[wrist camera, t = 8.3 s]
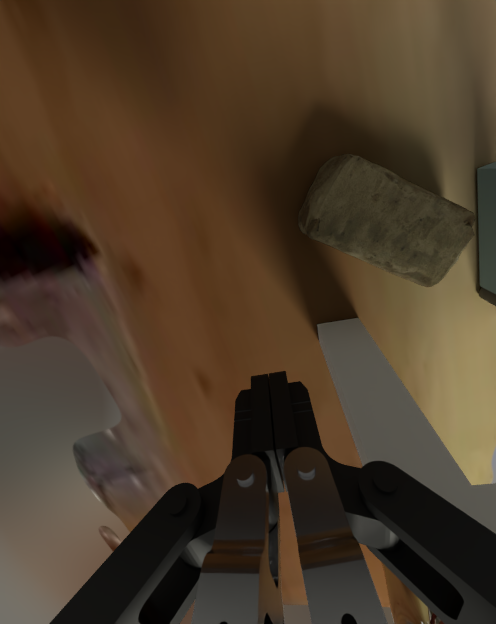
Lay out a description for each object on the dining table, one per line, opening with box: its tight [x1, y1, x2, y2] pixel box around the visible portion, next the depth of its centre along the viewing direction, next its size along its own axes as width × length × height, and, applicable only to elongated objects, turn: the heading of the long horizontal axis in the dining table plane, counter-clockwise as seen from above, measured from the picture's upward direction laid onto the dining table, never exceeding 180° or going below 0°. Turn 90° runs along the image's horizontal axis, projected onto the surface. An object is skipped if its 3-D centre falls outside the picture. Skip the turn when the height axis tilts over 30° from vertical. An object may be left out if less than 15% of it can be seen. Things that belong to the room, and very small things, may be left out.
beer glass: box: [381, 562, 444, 624], centre depth 38 cm, size 7×7×15 cm
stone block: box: [298, 154, 475, 287], centre depth 20 cm, size 6×12×5 cm, turn 69°
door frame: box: [317, 318, 496, 534], centre depth 19 cm, size 18×2×18 cm, turn 102°
